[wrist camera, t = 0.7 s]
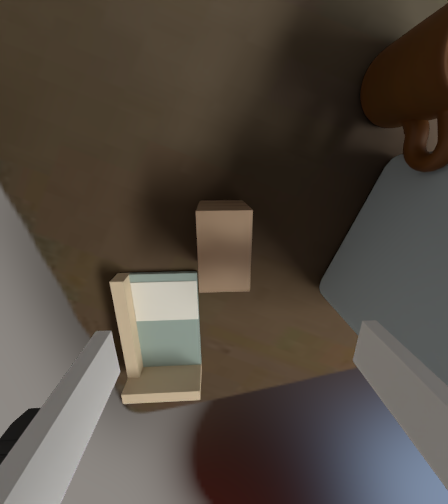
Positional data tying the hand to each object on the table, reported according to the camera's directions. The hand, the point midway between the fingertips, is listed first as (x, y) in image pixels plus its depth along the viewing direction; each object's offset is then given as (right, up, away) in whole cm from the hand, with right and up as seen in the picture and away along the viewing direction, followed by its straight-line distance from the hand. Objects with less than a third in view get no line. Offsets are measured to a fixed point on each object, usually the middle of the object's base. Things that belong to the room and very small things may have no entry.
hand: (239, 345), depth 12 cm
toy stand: (-9, -5, +20) cm, 23 cm away
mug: (+17, +20, +13) cm, 29 cm away
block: (-1, +7, +16) cm, 18 cm away
